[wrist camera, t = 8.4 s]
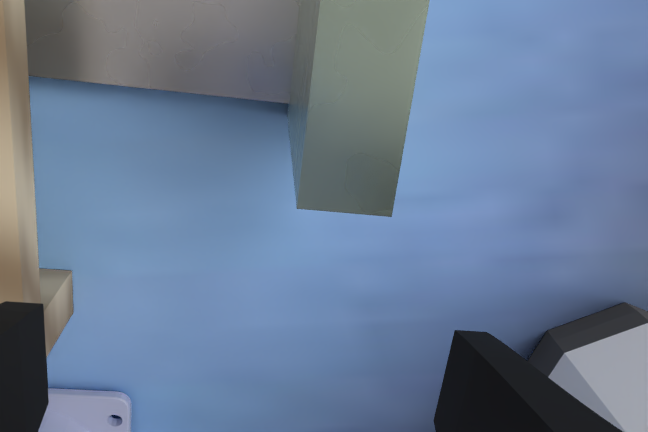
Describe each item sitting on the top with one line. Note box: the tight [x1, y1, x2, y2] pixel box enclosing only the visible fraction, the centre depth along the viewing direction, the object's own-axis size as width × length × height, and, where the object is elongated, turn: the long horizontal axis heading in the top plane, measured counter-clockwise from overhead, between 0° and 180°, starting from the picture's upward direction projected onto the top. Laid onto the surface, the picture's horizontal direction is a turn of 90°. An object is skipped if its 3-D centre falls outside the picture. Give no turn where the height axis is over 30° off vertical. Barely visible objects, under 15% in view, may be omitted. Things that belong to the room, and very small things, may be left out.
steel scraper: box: [24, 0, 430, 217], centre depth 13 cm, size 6×15×8 cm, turn 83°
